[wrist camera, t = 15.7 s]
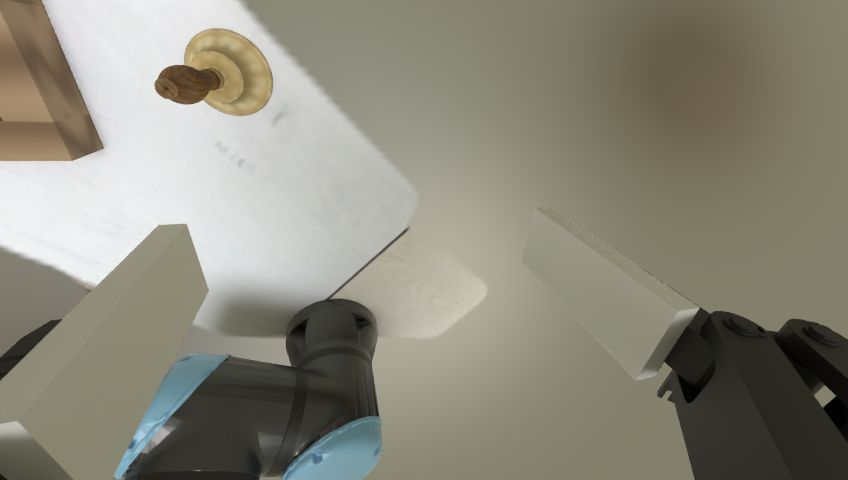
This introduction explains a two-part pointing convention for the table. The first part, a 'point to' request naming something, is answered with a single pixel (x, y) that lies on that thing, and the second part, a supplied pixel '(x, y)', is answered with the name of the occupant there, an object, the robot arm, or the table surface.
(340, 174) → the table surface
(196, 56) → the hand bell
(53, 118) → the square wooden frame
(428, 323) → the table surface
